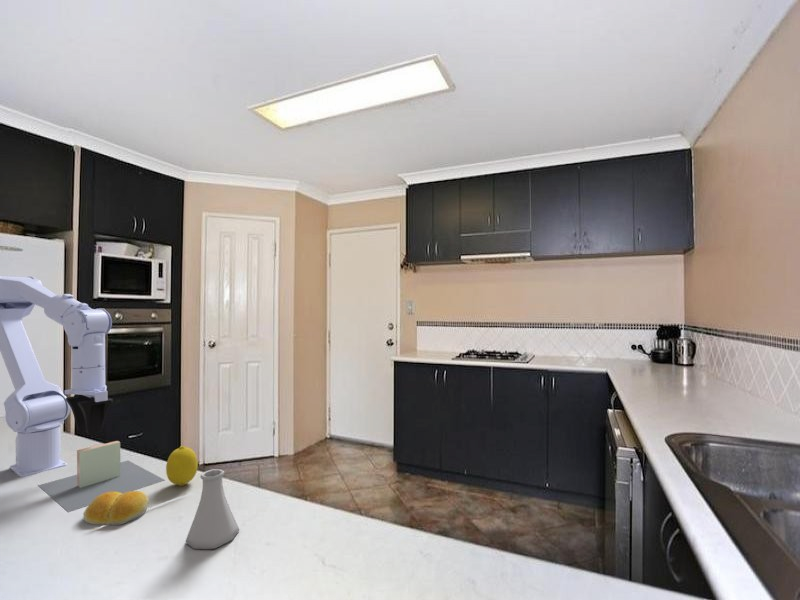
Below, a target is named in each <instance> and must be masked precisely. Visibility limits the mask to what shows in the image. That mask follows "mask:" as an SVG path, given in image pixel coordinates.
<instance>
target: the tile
mask: <svg viewBox="0 0 800 600" xmlns="http://www.w3.org/2000/svg"><path fill="white" fill-rule="evenodd" d="M120 462H121V442H120V441H119V440H115V441H110V442H107V443H103V444H98V445H95V446H94V445H93V446H89V447H86V448H81V449H78V450H77V449H76V475H77V486H78V487H79V488H81V487H85V486H88V485H91V484H95V483H98V482H101V481H105V480H108V479H112V478H115V477H118V476H121V475H120Z"/></svg>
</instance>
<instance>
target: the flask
mask: <svg viewBox="0 0 800 600" xmlns="http://www.w3.org/2000/svg"><path fill="white" fill-rule="evenodd" d="M224 475H225V471H224V470H223V469H220V468H219V469H218V468H214V469H213V468H212V469H210V470H209V469H208V470H206V471H204V472H203V473H201V474H200V476H199V478H200V479H201V480H202V490H201V496H200V499H199V500H200V501H199V503H198V506H197V508H196V509H197V510H196V512H195V515H194V518H193V521H192V523H191V525H190V528H189V530H188V533H187V535H186V536H187V537H186V539H185V543H186V544H187V545H188V546H189V547H192V548H193V549H195V550H211V549H213V550H214V549H217V548H219V547H221V546H223V545H224V544H226V543H229V542H231V541H232V540H234V538H235V537H236V535H237V534H238V533H239V531H240V528H239V526H238V523H237V521H236V519H235V516H234V514H233V512H232V510H231V507H230V504H229V503H228V500H227V498H226V496H225V495H226V494H225V490H224V486H223V476H224Z"/></svg>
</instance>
